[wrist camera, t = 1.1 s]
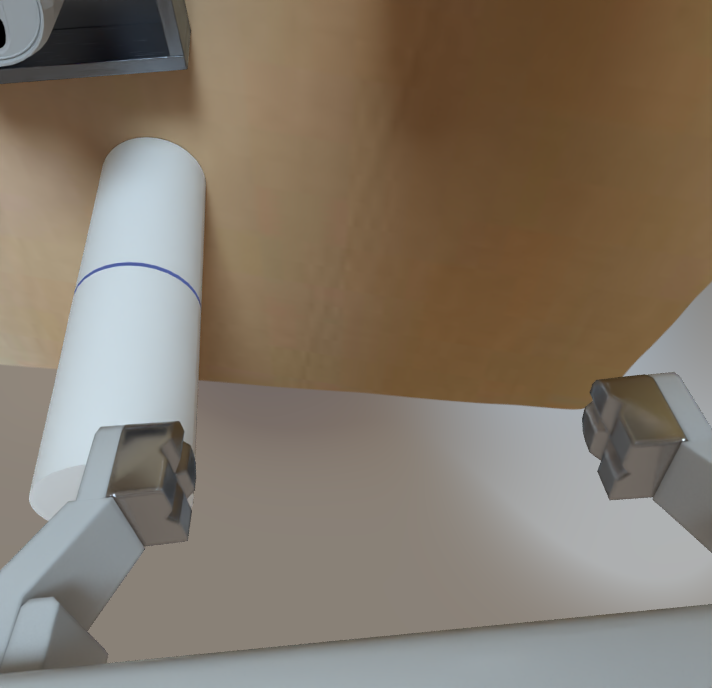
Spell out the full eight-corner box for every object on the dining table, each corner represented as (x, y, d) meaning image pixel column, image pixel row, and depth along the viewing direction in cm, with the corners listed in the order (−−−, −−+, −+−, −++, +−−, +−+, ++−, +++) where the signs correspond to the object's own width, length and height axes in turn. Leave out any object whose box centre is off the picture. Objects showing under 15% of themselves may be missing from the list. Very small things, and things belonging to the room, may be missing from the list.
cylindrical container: (190, 130, 42) (166, 451, 26) (216, 213, 47) (210, 521, 32) (84, 145, 42) (-4, 477, 26) (123, 227, 47) (71, 543, 31)
